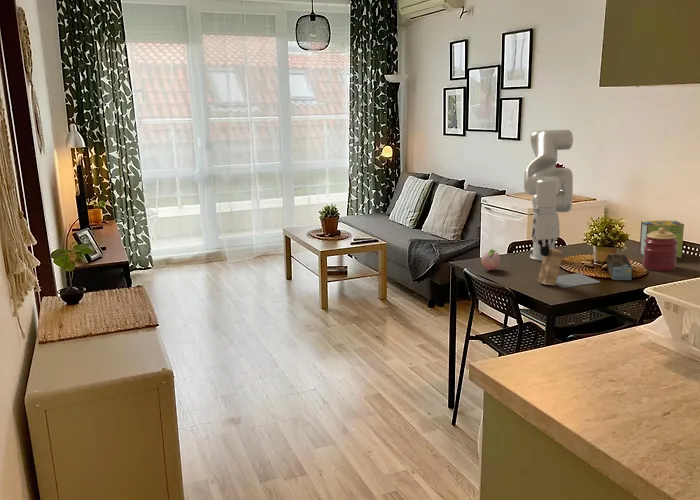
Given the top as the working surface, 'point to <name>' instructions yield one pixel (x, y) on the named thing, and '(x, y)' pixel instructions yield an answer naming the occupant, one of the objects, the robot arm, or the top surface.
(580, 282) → the rubber mat
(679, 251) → the protein box
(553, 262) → the oak pillar
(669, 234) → the canister
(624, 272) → the beverage carton
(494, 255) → the decorative fruit
